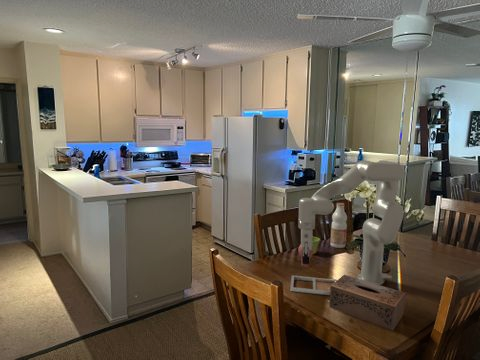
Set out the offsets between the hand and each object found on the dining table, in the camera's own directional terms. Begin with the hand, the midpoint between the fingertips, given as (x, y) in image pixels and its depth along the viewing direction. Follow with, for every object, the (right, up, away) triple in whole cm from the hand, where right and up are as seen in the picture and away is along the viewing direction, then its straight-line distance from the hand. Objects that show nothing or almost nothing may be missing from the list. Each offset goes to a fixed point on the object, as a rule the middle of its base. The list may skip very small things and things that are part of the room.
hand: (305, 260), depth 163 cm
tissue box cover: (+21, -17, -20) cm, 34 cm away
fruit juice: (+32, -4, +58) cm, 66 cm away
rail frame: (+4, -13, +1) cm, 14 cm away
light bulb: (0, -3, +1) cm, 4 cm away
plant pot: (+12, -6, +46) cm, 48 cm away
